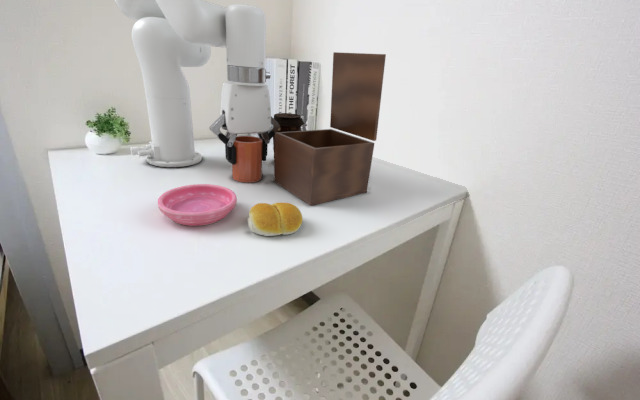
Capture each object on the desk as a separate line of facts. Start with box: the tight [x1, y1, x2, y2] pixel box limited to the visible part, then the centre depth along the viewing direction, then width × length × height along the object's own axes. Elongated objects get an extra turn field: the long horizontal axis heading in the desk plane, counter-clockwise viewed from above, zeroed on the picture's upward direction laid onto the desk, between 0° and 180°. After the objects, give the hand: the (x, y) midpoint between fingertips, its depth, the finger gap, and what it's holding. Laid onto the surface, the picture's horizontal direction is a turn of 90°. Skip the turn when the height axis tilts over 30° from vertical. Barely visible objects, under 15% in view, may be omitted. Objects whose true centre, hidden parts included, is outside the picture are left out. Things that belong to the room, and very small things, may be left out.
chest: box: [273, 128, 375, 206], centre depth 67 cm, size 16×15×11 cm
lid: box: [329, 51, 387, 142], centre depth 67 cm, size 16×15×5 cm
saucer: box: [157, 183, 238, 227], centre depth 53 cm, size 12×12×3 cm
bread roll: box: [246, 202, 304, 237], centre depth 51 cm, size 8×9×4 cm
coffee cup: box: [272, 112, 305, 159], centre depth 81 cm, size 9×8×13 cm
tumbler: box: [231, 135, 263, 183], centre depth 69 cm, size 7×7×9 cm
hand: (247, 160), depth 70 cm, fingers closed on tumbler, 6 cm apart
